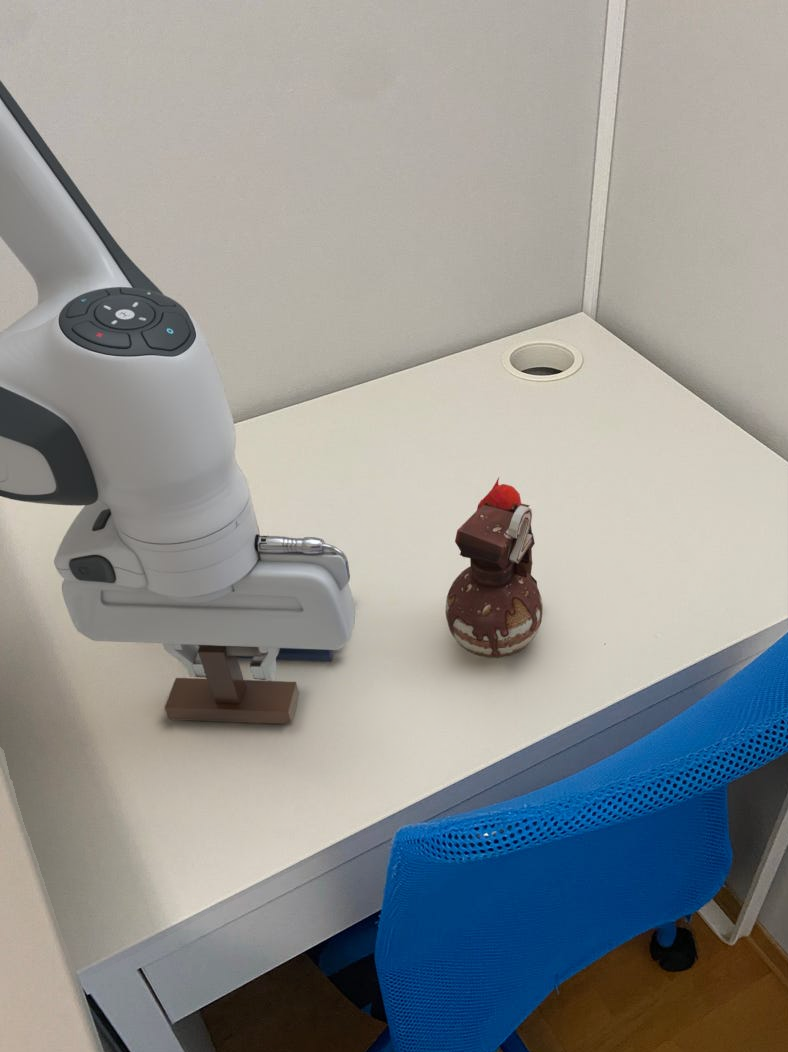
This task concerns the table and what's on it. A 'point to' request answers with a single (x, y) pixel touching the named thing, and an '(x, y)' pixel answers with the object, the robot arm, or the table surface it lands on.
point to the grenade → (496, 578)
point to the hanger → (230, 691)
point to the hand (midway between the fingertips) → (233, 672)
